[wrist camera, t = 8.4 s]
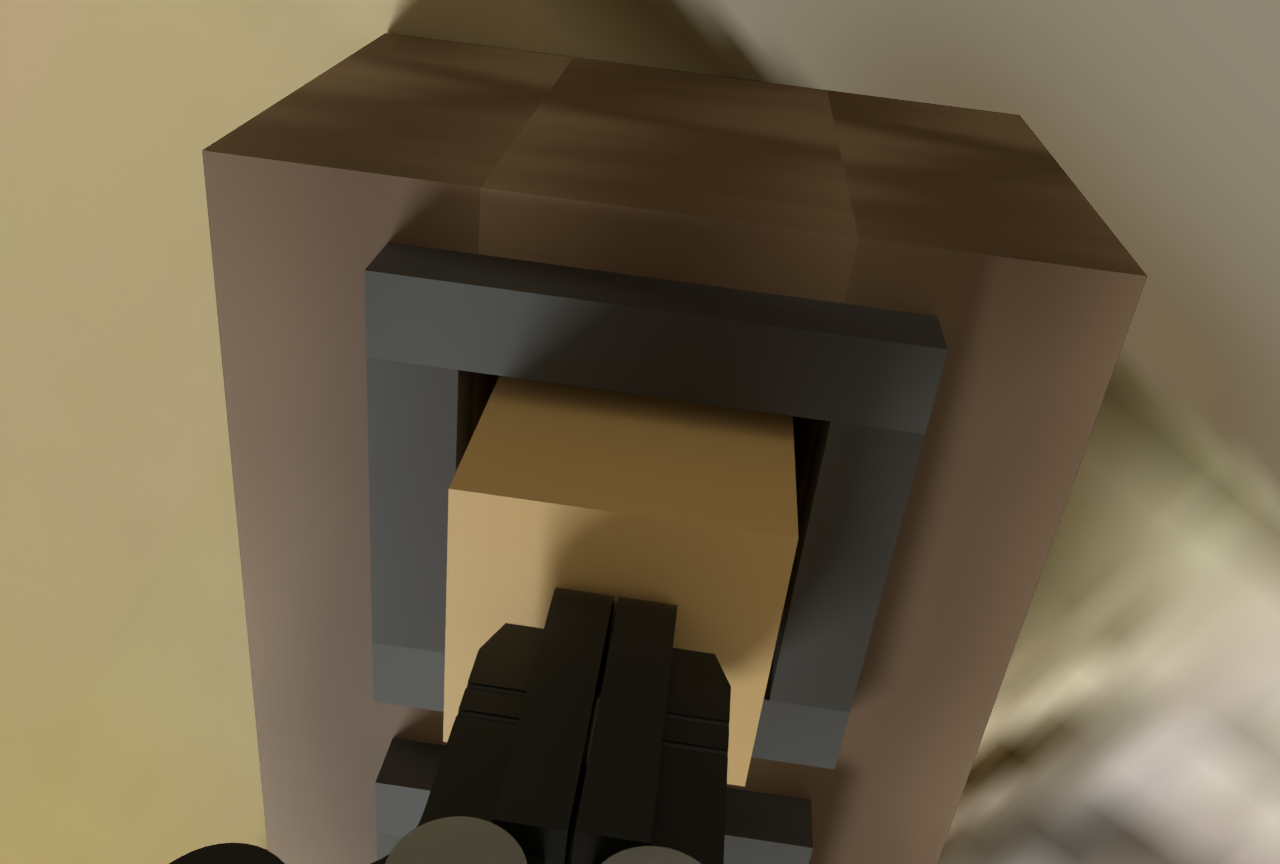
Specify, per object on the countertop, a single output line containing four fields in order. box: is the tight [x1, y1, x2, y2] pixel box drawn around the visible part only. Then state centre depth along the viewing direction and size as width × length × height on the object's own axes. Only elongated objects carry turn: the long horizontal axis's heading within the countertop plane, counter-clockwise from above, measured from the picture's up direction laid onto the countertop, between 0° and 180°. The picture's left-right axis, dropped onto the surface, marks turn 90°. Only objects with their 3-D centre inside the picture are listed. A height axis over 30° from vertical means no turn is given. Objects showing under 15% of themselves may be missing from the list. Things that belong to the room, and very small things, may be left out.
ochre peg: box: [443, 376, 799, 787], centre depth 17 cm, size 4×4×8 cm
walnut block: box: [202, 33, 1147, 864], centre depth 22 cm, size 12×18×9 cm, turn 174°
